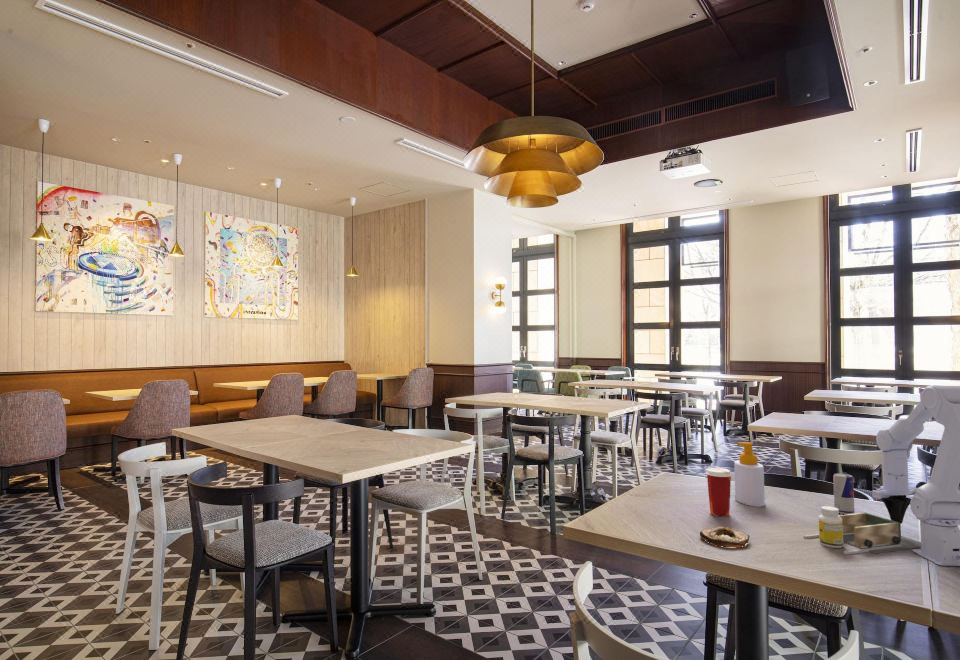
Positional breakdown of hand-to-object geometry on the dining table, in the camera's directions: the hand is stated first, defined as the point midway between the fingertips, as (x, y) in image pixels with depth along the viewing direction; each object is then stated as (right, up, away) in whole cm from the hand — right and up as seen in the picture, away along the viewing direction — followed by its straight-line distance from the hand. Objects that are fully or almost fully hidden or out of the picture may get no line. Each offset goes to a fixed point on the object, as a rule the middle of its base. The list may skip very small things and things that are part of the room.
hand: (896, 522), depth 151 cm
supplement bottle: (-22, -4, -6) cm, 23 cm away
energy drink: (0, -5, +22) cm, 23 cm away
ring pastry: (-49, -5, -2) cm, 49 cm away
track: (-12, -4, -3) cm, 13 cm away
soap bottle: (-23, -6, +36) cm, 43 cm away
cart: (-12, -3, -3) cm, 13 cm away
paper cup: (-40, -5, +22) cm, 46 cm away
